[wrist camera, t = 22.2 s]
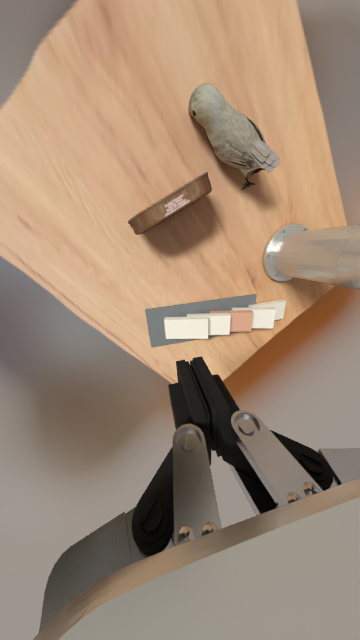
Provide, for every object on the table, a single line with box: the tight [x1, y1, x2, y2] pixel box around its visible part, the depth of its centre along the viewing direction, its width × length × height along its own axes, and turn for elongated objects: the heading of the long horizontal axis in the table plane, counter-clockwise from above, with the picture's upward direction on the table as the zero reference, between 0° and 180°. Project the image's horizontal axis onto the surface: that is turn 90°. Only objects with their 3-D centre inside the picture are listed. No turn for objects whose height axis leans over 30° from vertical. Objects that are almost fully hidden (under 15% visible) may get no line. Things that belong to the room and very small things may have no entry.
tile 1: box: [164, 316, 208, 339], centre depth 40 cm, size 2×5×10 cm
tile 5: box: [248, 300, 286, 320], centre depth 45 cm, size 2×5×10 cm
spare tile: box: [210, 310, 254, 332], centre depth 42 cm, size 2×5×10 cm
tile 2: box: [187, 313, 231, 335], centre depth 41 cm, size 2×5×10 cm
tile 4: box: [232, 307, 277, 328], centre depth 42 cm, size 2×5×10 cm
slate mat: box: [145, 294, 256, 347], centre depth 43 cm, size 28×10×1 cm, turn 94°
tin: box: [128, 172, 212, 235], centre depth 29 cm, size 15×3×8 cm, turn 118°
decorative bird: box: [188, 83, 280, 191], centre depth 27 cm, size 5×16×8 cm, turn 56°
